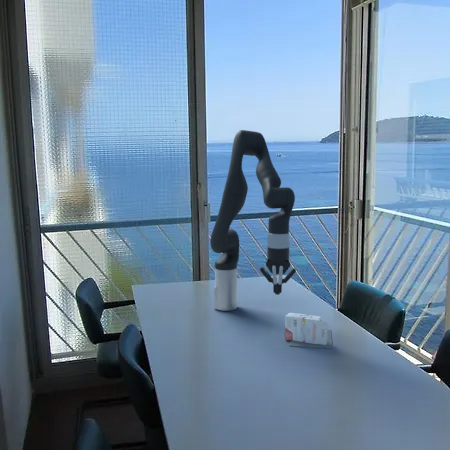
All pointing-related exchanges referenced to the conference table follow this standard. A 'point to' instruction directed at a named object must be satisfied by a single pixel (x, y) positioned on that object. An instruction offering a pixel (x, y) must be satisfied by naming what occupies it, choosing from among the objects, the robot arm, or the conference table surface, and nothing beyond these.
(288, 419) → the conference table surface
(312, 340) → the ink cartridge box
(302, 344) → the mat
